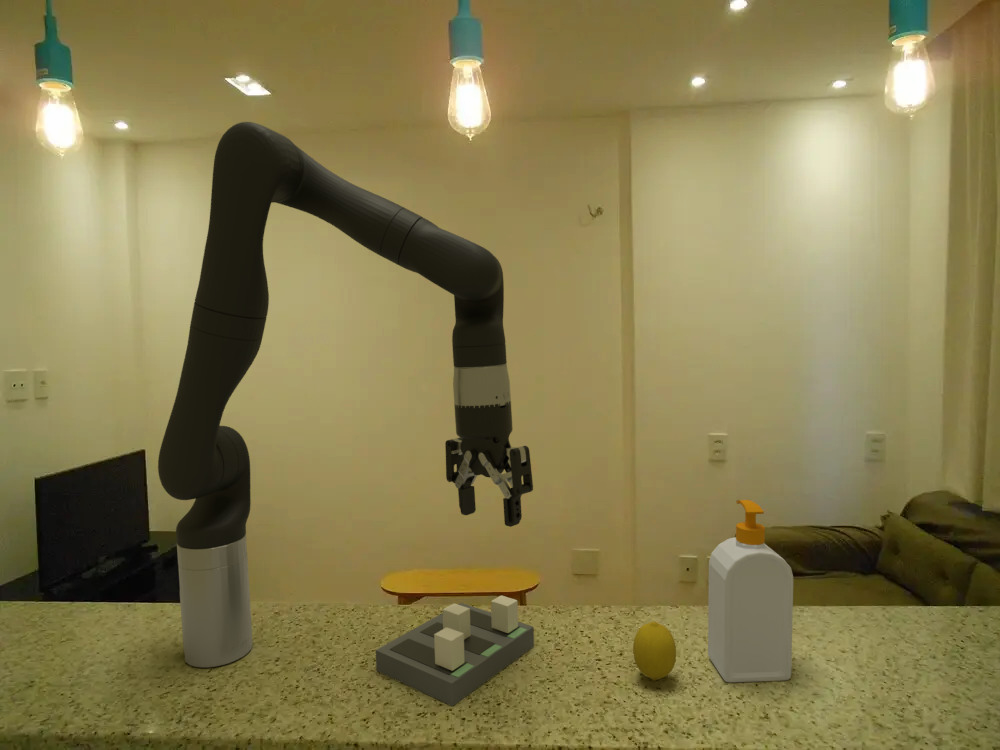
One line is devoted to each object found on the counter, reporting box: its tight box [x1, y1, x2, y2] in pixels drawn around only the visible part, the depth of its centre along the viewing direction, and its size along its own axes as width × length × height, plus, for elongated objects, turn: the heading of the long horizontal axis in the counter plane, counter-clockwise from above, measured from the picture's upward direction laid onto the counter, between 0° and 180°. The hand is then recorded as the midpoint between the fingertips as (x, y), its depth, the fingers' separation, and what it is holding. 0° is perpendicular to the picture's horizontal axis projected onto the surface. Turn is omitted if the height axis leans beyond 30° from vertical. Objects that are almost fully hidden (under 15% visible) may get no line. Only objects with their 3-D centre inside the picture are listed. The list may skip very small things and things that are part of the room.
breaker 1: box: [434, 627, 464, 671], centre depth 85 cm, size 3×2×4 cm
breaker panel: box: [375, 602, 535, 707], centre depth 92 cm, size 14×18×3 cm
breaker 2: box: [490, 595, 519, 633], centre depth 94 cm, size 3×2×4 cm
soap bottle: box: [707, 499, 794, 683], centre depth 87 cm, size 9×7×23 cm
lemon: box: [632, 620, 677, 681], centre depth 86 cm, size 6×6×8 cm
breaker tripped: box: [442, 602, 471, 639], centre depth 92 cm, size 3×2×4 cm
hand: (489, 519), depth 87 cm, fingers open, 8 cm apart
